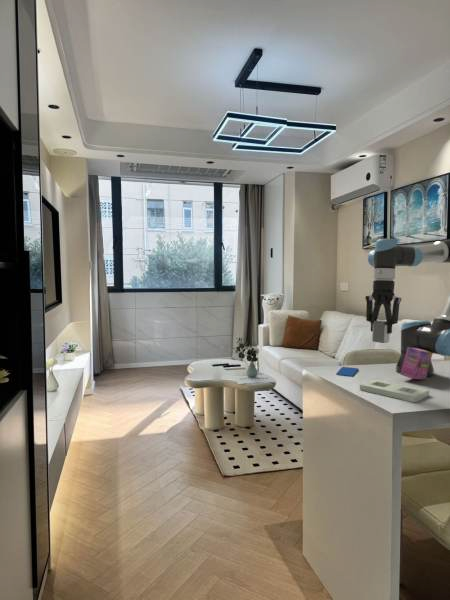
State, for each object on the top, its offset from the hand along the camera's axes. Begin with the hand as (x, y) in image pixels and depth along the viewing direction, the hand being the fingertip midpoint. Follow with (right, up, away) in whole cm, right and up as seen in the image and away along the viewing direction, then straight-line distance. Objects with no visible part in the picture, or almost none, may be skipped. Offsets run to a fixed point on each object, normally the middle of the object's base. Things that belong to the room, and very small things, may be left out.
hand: (380, 341), depth 150 cm
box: (+18, -16, +11) cm, 26 cm away
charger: (0, 0, 0) cm, 0 cm away
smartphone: (-5, -17, +24) cm, 30 cm away
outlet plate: (+2, -18, -7) cm, 20 cm away
